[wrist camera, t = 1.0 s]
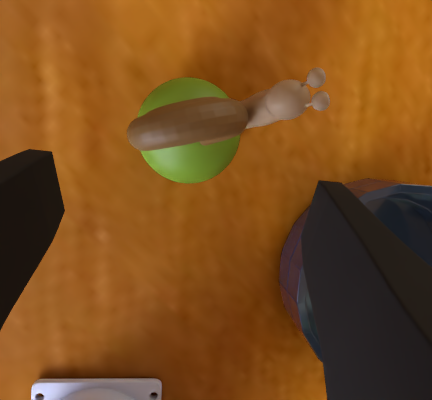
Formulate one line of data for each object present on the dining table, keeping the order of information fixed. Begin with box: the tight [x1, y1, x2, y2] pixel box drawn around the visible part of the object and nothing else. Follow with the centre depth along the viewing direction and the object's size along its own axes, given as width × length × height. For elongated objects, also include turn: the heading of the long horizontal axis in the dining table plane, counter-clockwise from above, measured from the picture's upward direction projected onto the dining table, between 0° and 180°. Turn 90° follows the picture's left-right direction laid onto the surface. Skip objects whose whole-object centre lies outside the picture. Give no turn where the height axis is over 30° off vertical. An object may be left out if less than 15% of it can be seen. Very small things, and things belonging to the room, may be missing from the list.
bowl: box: [279, 178, 432, 362], centre depth 22 cm, size 12×12×4 cm
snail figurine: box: [127, 68, 330, 183], centre depth 16 cm, size 5×6×12 cm
